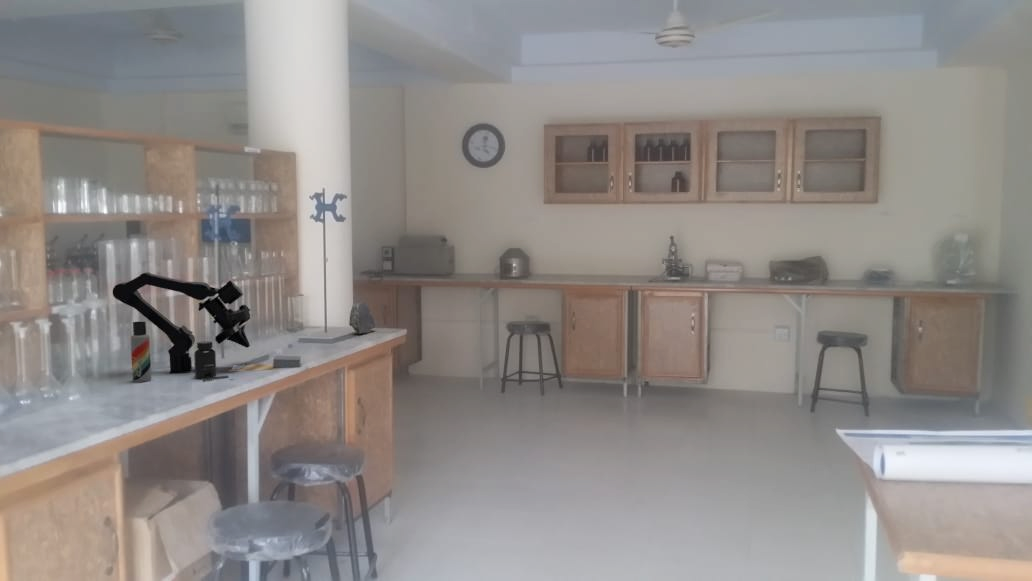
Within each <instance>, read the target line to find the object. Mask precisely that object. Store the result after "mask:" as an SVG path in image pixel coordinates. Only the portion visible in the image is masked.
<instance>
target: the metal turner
mask: <svg viewBox="0 0 1032 581" xmlns="http://www.w3.org/2000/svg"><path fill="white" fill-rule="evenodd" d="M222 379H229V375H216V376H214V377H208V378H202V382H203V383H205V382H206V381H208V382H214V380H222ZM231 381H235V380H234V378H233V379H231Z"/></svg>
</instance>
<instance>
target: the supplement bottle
mask: <svg viewBox="0 0 1032 581" xmlns="http://www.w3.org/2000/svg"><path fill="white" fill-rule="evenodd" d="M213 347H214V346H213V341H207V340H206V341H198V342H196V348H197V350H195V352H194V355H193V357H194V377H195V378H196V379H200V380H201V379H202V378H208V377H217V353H216V350H214V349H213ZM202 380H203V379H202Z"/></svg>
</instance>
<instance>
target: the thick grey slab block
mask: <svg viewBox="0 0 1032 581" xmlns="http://www.w3.org/2000/svg"><path fill="white" fill-rule="evenodd" d="M301 359H302V358H301V356H299V355H274V356H273V360H272V362H273V368H277V369H278V368H279V369H281V368H282V369H287V368H288V369H289V368H293V369H294V368H300V366H301Z"/></svg>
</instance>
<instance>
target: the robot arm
mask: <svg viewBox="0 0 1032 581" xmlns="http://www.w3.org/2000/svg"><path fill="white" fill-rule="evenodd" d="M146 285H147V286H152V287H155V288H161V289H165V290H170V291H173V292H178V293H182V294H183V295H185V296H187V297H189V298H192V299H194V300H198V301H203V302H198V311H202V310H203V309H205V310H206V311H207V313H208V314H209V315H210V316H211V317H212V318H213V320H212V322H213V324H218V326H219V327H220V328H221V330H220V332H219V333H218V334H217V335H216V336H215V340H214V341H215V342H216V343H217V344H218V345H220V344H222V343H223V342H224V341H230V342H234V343H236V344H238V345H239V346H242V347H245V348H246V349H248V348H250V346H251V344H250V342H249V340H248V338H247V335H246V332H245V328H246V325H247V324H245V323H246V322H248V321H249V320H251V313H250V312H251V309H250V308H249V306H247V305H246V304H241V305H240V306H239V307H238V309H237V310H233V309H232V308H229V309H228V308H227V306H226V305H227V304H228V305H232V304H233V303H234V302H236V301H237V300H238V299H240V298H241V297H242V296H244V293H243V291H242V290H241V288H240V287H239V286H238V285H236V284H235V283H234V282H233V281H232V280H228V281H227V282H226V283H225V284H224V285H223V286H222V287H220V288H217V287H212V286H210V285H209V284H208V283H207V282H204V281H203V282H202V281H201V282H200V281H184V280H179V279H175V278H172V277H171V278H170V277H167V276H162V275H158V274H153V273H151V272H148V271H146V272H143V273H141V274H140V275H139V276H136V277H135V278H133V279H131V280H130V281H127V282H126V281H123V282H121V283H118V284H116V285H114V287H113V289H112V296H113V297H114V298H115V299H116V300H117V301H120V302H121V303H122V304H124V305H127V306H129V307H131V308H134V310H136V311H137V312H138V313H140V314H141V315H143V317H145V318H146V319H147V321H150V323H152V324H153V325H154V326H156V328H158V329H159V330H161V331H162V332H163V333H164V334H165V335H166V337H167V338H168V339H169V341H170V342H171V344H172V346H171V347H170V348H169V349H168V350H167V351H168V354H169V368H170V369H169V374H178V373H179V374H181V373H190V372H191V370H192V368H193V366H192V364H193V363H192V357H191V356H190V352H189V351H190V349H191V348H192V347H193V346H194V344H196V338H195V335H194V334H193V333H194V332H193V331H191V330H189V328H188V327H187V326H186V325H185V324H183V325H182V326H177V325H176V324H174V323H173V322H172V321H171V320H169V318H167V317H166V316H165V315H163V314H162V313H161V312H160V311H159V310H157V308H155V307H154V306H152V305H151V304H150V303H149V302H148V301H146V300H145V299H144V298H143V296H142V295H141V292H139V290H140V289H141V288H143V287H145V286H146ZM216 295H217V296H216ZM214 296H215V297H214ZM212 297H214V298H213V299H212ZM207 298H208V299H207ZM204 300H205V301H204ZM243 324H244V325H243Z"/></svg>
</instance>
